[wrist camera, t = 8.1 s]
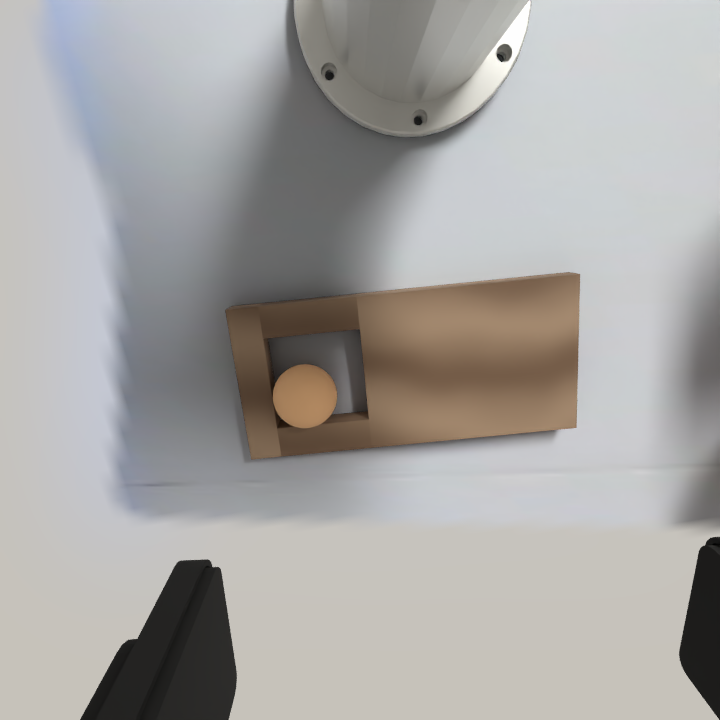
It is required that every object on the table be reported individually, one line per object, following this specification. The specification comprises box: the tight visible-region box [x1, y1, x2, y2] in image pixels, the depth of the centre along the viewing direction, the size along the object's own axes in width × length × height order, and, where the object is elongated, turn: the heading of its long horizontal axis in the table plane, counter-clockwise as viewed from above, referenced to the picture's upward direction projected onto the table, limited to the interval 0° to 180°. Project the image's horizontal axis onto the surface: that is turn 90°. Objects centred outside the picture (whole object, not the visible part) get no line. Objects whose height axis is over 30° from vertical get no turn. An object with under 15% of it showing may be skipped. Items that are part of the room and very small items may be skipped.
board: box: [225, 272, 580, 459], centre depth 30 cm, size 10×22×2 cm, turn 96°
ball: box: [273, 364, 337, 428], centre depth 29 cm, size 4×4×4 cm
